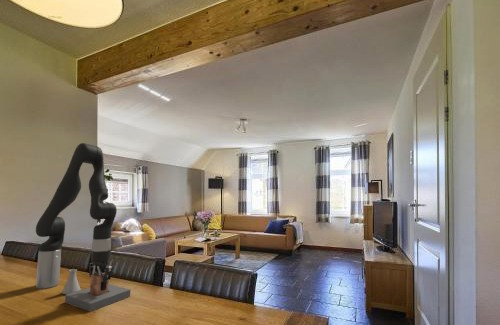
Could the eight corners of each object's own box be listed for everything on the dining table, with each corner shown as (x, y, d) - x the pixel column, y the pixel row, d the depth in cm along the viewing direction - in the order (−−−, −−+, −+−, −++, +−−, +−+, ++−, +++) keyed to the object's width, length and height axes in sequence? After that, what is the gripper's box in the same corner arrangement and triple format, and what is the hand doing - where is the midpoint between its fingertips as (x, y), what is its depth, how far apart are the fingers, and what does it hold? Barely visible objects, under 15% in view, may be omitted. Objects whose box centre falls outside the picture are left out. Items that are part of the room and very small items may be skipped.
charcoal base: (64, 302, 118) (65, 295, 118) (105, 289, 133) (105, 282, 134) (90, 311, 109) (90, 303, 109) (130, 296, 125) (130, 289, 125)
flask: (71, 295, 125) (73, 272, 126) (57, 294, 127) (59, 271, 128) (84, 290, 132) (85, 268, 133) (71, 289, 134) (72, 267, 135)
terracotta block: (89, 294, 121) (90, 275, 121) (100, 290, 125) (101, 272, 126) (96, 296, 118) (98, 276, 119) (107, 292, 122) (108, 273, 123)
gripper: (83, 248, 124) (80, 288, 122) (103, 252, 117) (101, 294, 115) (99, 245, 130) (97, 283, 128) (119, 249, 123) (117, 289, 121)
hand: (99, 288), depth 122 cm, fingers closed on terracotta block, 5 cm apart
